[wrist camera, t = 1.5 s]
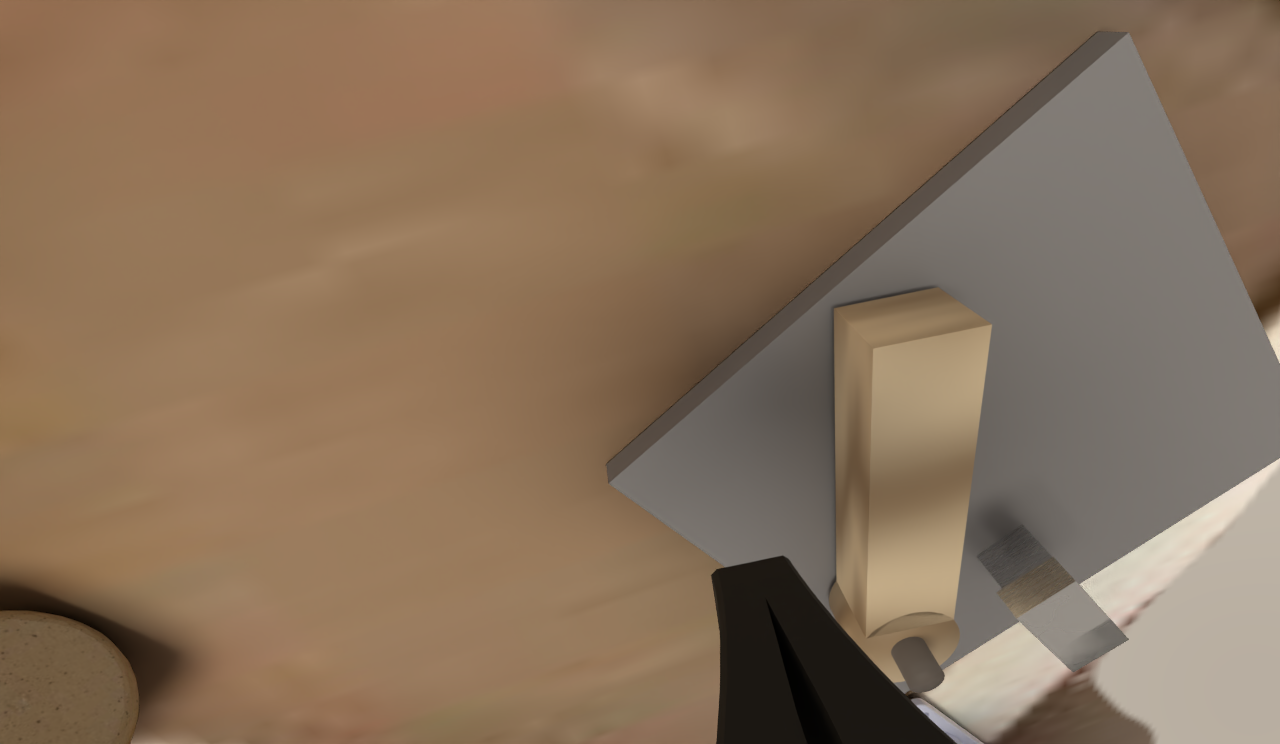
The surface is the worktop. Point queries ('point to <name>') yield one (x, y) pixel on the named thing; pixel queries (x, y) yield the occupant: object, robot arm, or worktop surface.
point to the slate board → (1006, 353)
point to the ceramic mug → (63, 683)
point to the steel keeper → (1049, 600)
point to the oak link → (904, 474)
